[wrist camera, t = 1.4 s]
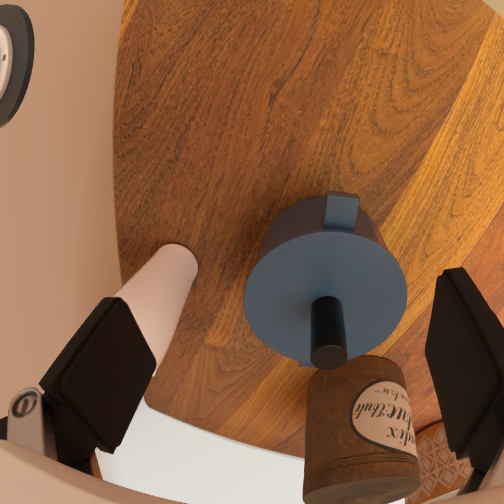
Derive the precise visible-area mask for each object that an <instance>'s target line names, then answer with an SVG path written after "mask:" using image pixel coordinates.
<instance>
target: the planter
mask: <svg viewBox="0 0 504 504" xmlns="http://www.w3.org/2000/svg"><path fill="white" fill-rule="evenodd" d="M415 442H416V448H417V456H418V462H419V467H420V473H421V486H420V488H419V489H418V490H417V491H415V492H414V493H412V494H410V495H409V496H407V497H405V504H426V503H430V502H435V501H439V500H443V499H448V498H451V497H455V496H456V494H457V493H458V491H459V490H460V488H461V486H462V485H463V483H464V481H465V479H466V478H467V476H468V474H469V472H470V471H471V469H472V467H471V464H470V459H469V457H467V458H464V459H460V460H456V454H455V452H451V451H450V450H449V447H448V442H447V437H446V432H445V428H444V423H443V421H441V422H439V423H436V424H434V425H432V426H430V427H428V428H426V429H424V430H422V431H421V432H419V433H418V434H416V435H415Z"/></svg>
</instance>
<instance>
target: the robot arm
mask: <svg viewBox="0 0 504 504" xmlns="http://www.w3.org/2000/svg"><path fill="white" fill-rule="evenodd" d="M12 63H13V46H12V40H11V37H10V34H9V32H8V30H7V29H6V28H5V27H4V26H2V25H0V100H1V98H2V97H3V95H4V92H5V90H6V88H7V85H8V82H9V78H10V74H11V69H12ZM425 355H426V359H427V362H428V366H429V369H430V373H431V376H432V380H433V383H434V387H435V391H436V394H437V398H438V402H439V406H440V410H441V415H442V419H443V423H444V428H445V432H446V437H447V442H448V447H449V450H450V451H451V452H455V454H456V460H460V459H464V458H467V457H469V459H470V464H471V467H472V469H471V471H470V472H469V474H468V476H467V478H466V479H465V481H464V483H463V485H462V486H461V488H460V490H459V491H458V493H457V494H456V496H455V497H451V498H448V499H443V500H439V501H435V502H430V503H426V504H504V328H503V326H502V325H501V323H500V321H499V320H498V318H497V316H496V315H495V313H494V312H493V311H492V310H491V309H490V307H489V306H488V304H487V302H486V301H485V299H484V298H483V296H482V294H481V293H480V291H479V290H478V288H477V287H476V285H475V284H474V282H473V281H472V279H471V278H470V276H469V275H468V273H467V272H466V270H465V269H464V268H463V267H459V268H452V269H445V270H444V271H443V273H442V275H440V276H438V277H437V281H436V288H435V295H434V302H433V308H432V314H431V319H430V325H429V330H428V335H427V340H426V345H425ZM156 366H157V362H156V358H155V356H154V355H153V353H152V351H151V349H150V347H149V345H148V343H147V342H146V340H145V338H144V336H143V334H142V332H141V330H140V328H139V326H138V324H137V322H136V320H135V318H134V316H133V314H132V312H131V310H130V308H129V306H128V304H127V303H126V302H125V301H124V300H123V299H122V298H121V297H106V298H103V299H102V300H101V301H100V303H99V304H98V305H97V307H96V308H95V309H94V310H93V311H92V313H91V314H90V315H89V316H88V318H87V319H86V320H85V321H84V323H83V324H82V325H81V327H80V328H79V329H78V330H77V332H76V333H75V334H74V336H73V337H72V338H71V340H70V341H69V342H68V344H67V345H66V346H65V348H64V349H63V350H62V352H61V353H60V354H59V356H58V357H57V358H56V360H55V361H54V362H53V364H52V365H51V367H50V368H49V369H48V371H47V372H46V374H45V375H44V376H43V378H42V379H41V381H40V382H39V385H40V386H41V388H42V389H43V390H44V391H45V393H44V394H43V395H42V393H41V392H40V391H39V390H38V389H37V388H34V387H29V388H25V389H23V390H22V391H20V392H19V393H18V394H17V395H15V397H14V398H13V399H12V401H11V403H10V405H9V410H8V416H6V417H4V418H2V419H0V504H186V503H181V502H177V501H172V500H168V499H164V498H160V497H156V496H152V495H149V494H145V493H141V492H138V491H134V490H131V489H128V488H125V487H122V486H118V485H116V484H113V483H109V482H107V481H104V480H103V479H102V476H101V472H100V469H99V465H98V461H97V458H96V454H95V448H96V447H97V448H99V449H100V450H101V451H103V452H107V453H110V454H113V453H114V451H115V449H116V447H118V446H119V445H120V444H121V442H122V440H123V438H124V435H125V433H126V431H127V429H128V427H129V424H130V422H131V420H132V418H133V416H134V414H135V411H136V410H137V407H138V405H139V403H140V401H141V399H142V397H143V395H144V393H145V391H146V388H147V386H148V384H149V382H150V380H151V378H152V376H153V374H154V372H155V370H156Z"/></svg>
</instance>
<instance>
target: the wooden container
mask: <svg viewBox="0 0 504 504" xmlns="http://www.w3.org/2000/svg"><path fill="white" fill-rule="evenodd" d="M303 482H304V483H303V502H304V503H305V504H388V503H391V502H394V501H397V500H400V499H402V498H405V497H407V496H409V495H410V494H412V493H414V492H415V491H417V490H418V489H419V488H420V486H421V473H420V467H419V462H418V456H417V448H416V442H415V434H414V427H413V420H412V414H411V408H410V403H409V398H408V394H407V390H406V385H405V381H404V377H403V373H402V371H401V369H400V368H399V367H398V366H397V365H396V364H395V363H393V362H391V361H389V360H386V359H383V358H379V357H370V356H361V357H355V358H353V359H349V360H347V361H346V363H345V364H344V365H343V366H341V367H340V368H337V369H334V370H320V371H319V372H317V373H316V374H315V375H314V376H313V378H312V379H311V381H310V383H309V385H308V391H307V411H306V431H305V466H304V481H303Z"/></svg>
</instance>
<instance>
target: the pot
mask: <svg viewBox="0 0 504 504" xmlns="http://www.w3.org/2000/svg"><path fill="white" fill-rule="evenodd" d="M359 201H360V198H359V196H358V195H357V194H350V193H342V192H333V191H327V192H326V196H320V197H311V198H307V199H303V200H300V201H298V202H296V203H294V204H292V205H290V206H288V207H287V208H285V209H284V210H283V211H282V212H280V213H279V214H278V215H277V216H276V218H275V219H274V220H273V221H272V223H271V224H270V226H269V227H268V230H267V232H266V234H265V236H264V238H263V241H262V245H261V248H260V252H259V256H258V260H259V259H260V258H261V257H262V256H263V254H264V253H266V252H267V251H268V250H269V249H270V248H272V247H273V246H274V245H276V244H278V243H279V242H281V241H282V240H284V239H287V238H289V237H291V236H293V235H296V234H299V233H302V232H306V231H311V230H316V229H343V230H349V231H354V232H357V233H360V234H363V235H365V236H368V237H370V238H372V239H374V240H375V241H377V242H378V243H380V244H381V245H383V246H384V247H385V248H386V249H387V247H386V244H385V242H384V240H383V238H382V236H381V234H380V231H379V230H378V228H377V227H376V225H375V224H374V222H373V221H372V219H371V218H370V217H369V216H368V215H367V213H366V212H365V211H363V210H362V209H361V208H359ZM387 250H388V249H387ZM258 260H257V261H258ZM299 366H301V367H313V368H316V367H315V366H313V365H312V363H310V362H303V361H299Z"/></svg>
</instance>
